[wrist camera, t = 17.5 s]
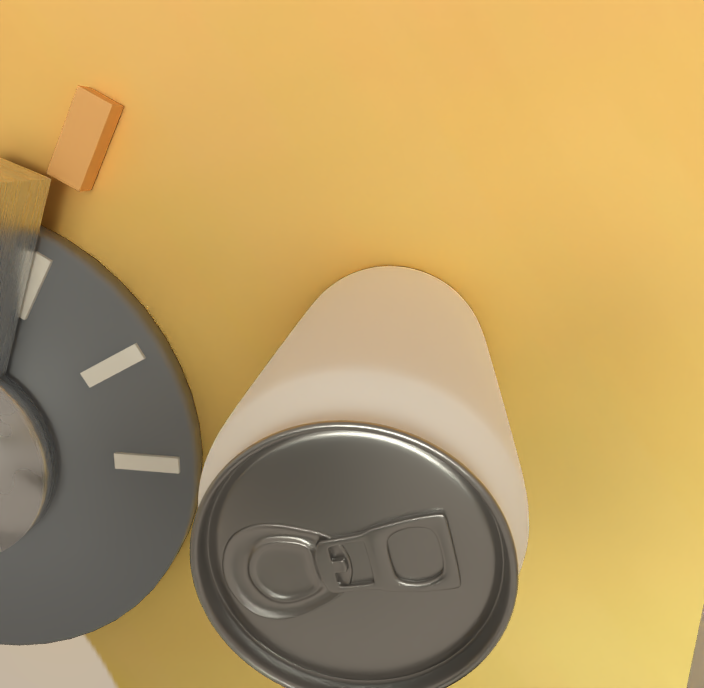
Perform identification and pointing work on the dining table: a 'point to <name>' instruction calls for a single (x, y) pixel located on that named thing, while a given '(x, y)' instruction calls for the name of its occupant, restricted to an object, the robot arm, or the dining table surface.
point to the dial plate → (97, 450)
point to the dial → (3, 393)
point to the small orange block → (84, 138)
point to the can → (366, 496)
